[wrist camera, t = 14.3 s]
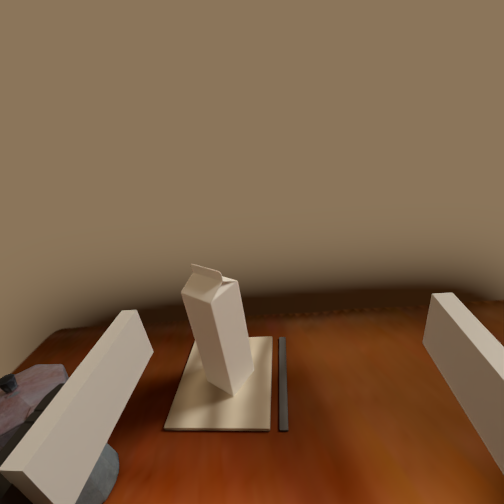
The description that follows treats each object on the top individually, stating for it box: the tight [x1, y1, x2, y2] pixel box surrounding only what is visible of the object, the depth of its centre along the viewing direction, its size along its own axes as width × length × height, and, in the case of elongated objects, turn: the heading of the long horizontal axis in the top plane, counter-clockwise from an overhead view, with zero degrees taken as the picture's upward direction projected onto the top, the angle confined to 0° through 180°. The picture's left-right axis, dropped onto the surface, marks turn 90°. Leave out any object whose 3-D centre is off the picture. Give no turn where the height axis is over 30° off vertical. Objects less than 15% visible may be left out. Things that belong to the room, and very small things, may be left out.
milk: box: [181, 264, 254, 397], centre depth 43 cm, size 6×6×22 cm
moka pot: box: [0, 364, 119, 504], centre depth 32 cm, size 10×15×20 cm, turn 65°
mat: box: [164, 337, 288, 431], centre depth 48 cm, size 19×18×1 cm
